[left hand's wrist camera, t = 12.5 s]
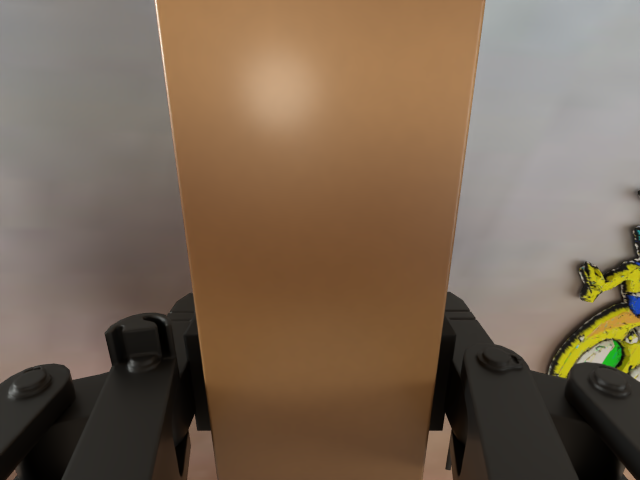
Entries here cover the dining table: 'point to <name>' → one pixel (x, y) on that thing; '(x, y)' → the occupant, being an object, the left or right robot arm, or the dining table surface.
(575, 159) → the dining table surface
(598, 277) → the toy
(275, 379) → the beam
